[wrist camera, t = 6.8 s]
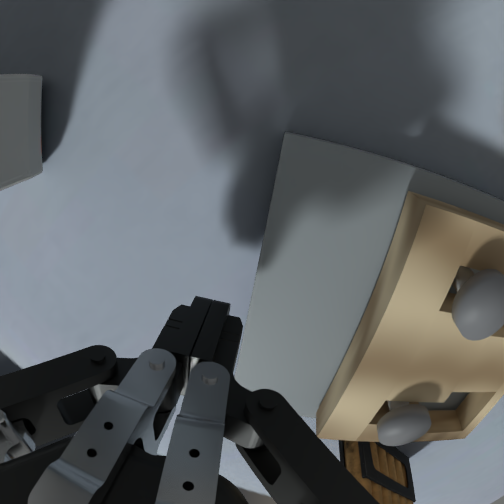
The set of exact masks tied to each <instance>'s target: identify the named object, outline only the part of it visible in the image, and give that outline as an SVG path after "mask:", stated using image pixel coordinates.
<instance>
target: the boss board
mask: <svg viewBox="0 0 504 504" xmlns="http://www.w3.org/2000/svg"><path fill="white" fill-rule="evenodd" d="M408 191H411V192H414V193H417V194H420V195H423V196H426V197H430V198H433V199H436V200H439V201H442V202H445V203H447V204H450V205H453V206H456V207H459V208H462V209H464V210H467V211H470V212H473V213H475V214H478V215H481V216H483V217H486V218H488V219H491V220H494V221H496V222H499V223H501V224H504V201H503V200H501V199H499V198H496V197H494V196H492V195H489V194H487V193H485V192H482V191H480V190H478V189H475V188H473V187H470V186H468V185H465V184H463V183H460V182H458V181H455V180H452V179H450V178H447V177H445V176H442V175H439V174H436V173H434V172H431V171H428V170H425V169H422V168H419V167H416V166H413V165H410V164H407V163H404V162H401V161H398V160H395V159H392V158H388V157H385V156H382V155H378V154H375V153H371V152H368V151H364V150H361V149H357V148H354V147H350V146H346V145H342V144H338V143H334V142H330V141H326V140H322V139H318V138H313V137H309V136H305V135H300V134H295V133H291V132H286V131H285V134H284V139H283V144H282V149H281V154H280V159H279V164H278V169H277V174H276V179H275V184H274V189H273V194H272V199H271V204H270V209H269V214H268V219H267V223H266V228H265V233H264V238H263V243H262V248H261V253H260V258H259V263H258V267H257V272H256V277H255V282H254V287H253V292H252V296H251V301H250V306H249V311H248V316H247V320H246V325H245V330H244V335H243V339H242V344H241V349H240V354H239V358H238V363H237V368H236V372H235V377H234V378H235V380H236V381H237V382H238V383H239V384H240V385H241V386H243V387H244V388H246V389H248V390H250V391H252V392H253V391H255V390H258V389H271V390H274V391H276V392H278V393H280V394H281V395H282V396H283V397H284V398H285V399H286V400H287V401H288V403H289V404H290V405H291V406H292V407H293V409H294V410H295V411H296V412H297V413H298V415H299V416H303V417H311V418H316V412H317V410H318V408H319V406H320V404H321V403H322V401H323V399H324V397H325V395H326V393H327V391H328V389H329V387H330V385H331V383H332V382H333V380H334V378H335V376H336V374H337V372H338V370H339V368H340V365H341V363H342V361H343V359H344V357H345V355H346V353H347V351H348V349H349V347H350V344H351V342H352V340H353V338H354V336H355V333H356V331H357V329H358V327H359V324H360V322H361V320H362V318H363V315H364V313H365V311H366V308H367V306H368V303H369V301H370V299H371V296H372V294H373V291H374V289H375V286H376V284H377V281H378V278H379V276H380V273H381V271H382V268H383V265H384V262H385V260H386V257H387V254H388V251H389V249H390V246H391V243H392V240H393V237H394V234H395V231H396V228H397V225H398V222H399V219H400V216H401V213H402V209H403V206H404V203H405V200H406V196H407V193H408ZM448 292H449V293H454V294H456V296H455V298H454V301H453V304H452V319H453V321H454V323H455V324H456V326H457V328H458V329H459V331H460V333H461V334H462V336H463V337H464V338H466V339H468V340H472V341H477V340H482V339H485V338H487V337H489V336H491V335H493V334H494V333H495V332H497V331H498V330H499V329H500V328H501V327H502V326H503V325H504V275H503V274H502V273H501V272H500V271H498V270H496V269H485V270H481V271H479V270H476V269H472V268H468V267H465V266H461V265H460V267H459V269H458V271H457V274H456V276H455V278H454V280H453V283H452V285H451V287H450V289H449V291H448ZM469 393H470V392H452V393H451V394H450V396H449V397H448V398H447V399H446V401H445V402H444V403H439V402H419V404H409V402H405V401H388V405H389V410H390V411H389V412H388V413H386V414H385V415H384V416H383V417H382V418H381V419H380V420H379V421H378V423H377V432H378V439H379V441H380V443H381V444H383V445H386V446H400V445H404V444H407V443H410V442H413V441H415V440H417V439H418V438H420V437H422V436H423V435H424V434H425V433H426V432H427V431H428V430H429V429H430V427H431V419H430V416H429V412H428V410H456V409H457V408H458V406H459V405H460V404H461V403H462V401H463V400H464V399H465V398H466V396H467V395H468V394H469Z"/></svg>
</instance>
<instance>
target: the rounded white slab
mask: <svg viewBox="0 0 504 504" xmlns="http://www.w3.org/2000/svg"><path fill="white" fill-rule="evenodd" d="M41 96H42V76H41V75H34V74H0V191H1V190H4V189H6V188H8V187H11V186H13V185H16V184H18V183H21V182H23V181H26V180H28V179H31V178H32V177H34V176H36V175H38V174H40V173H42V171H43V166H42V147H41Z"/></svg>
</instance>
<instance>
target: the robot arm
mask: <svg viewBox="0 0 504 504" xmlns="http://www.w3.org/2000/svg"><path fill="white" fill-rule="evenodd" d="M229 311H230V303H225V302H221V301H216V300H212V299H207V298H203V297H198V296H196V297H195V298H194V300H193V302H192V304H191V306H186V305H180V306H179V307H177V308H176V309H174V310H173V311H172V313H171V315H170V317H169V319H168V320H167V322H166V324H165V326H164V327H163V329H162V331H161V333H160V335H159V337H158V338H157V340H156V342H155V344H154V346H153V348H152V349H148V350H146V351H144V352H143V353H141V355H140V356H139V357H138V358H116V354H115V352H114V351H113V350H112V349H111V348H109V347H107V346H103V345H94V346H90V347H88V348H85V349H82V350H79V351H76V352H73V353H70V354H67V355H64V356H61V357H58V358H55V359H52V360H49V361H46V362H43V363H40V364H37V365H34V366H31V367H28V368H25V369H22V370H19V371H16V372H13V373H9V374H6V375H3V376H0V504H248V502H247V501H246V499H245V497H244V496H243V494H242V493H241V492H240V491H239V489H238V488H237V487H236V486H235V485H234V484H232V483H231V482H230V481H229V480H227V479H226V478H224V477H223V476H221V475H219V467H220V459H221V451H222V443H223V437H225V438H227V439H229V440H231V441H233V442H235V443H236V447H237V449H238V450H239V452H240V453H241V455H242V456H243V458H244V459H245V461H246V462H247V464H248V465H249V466H250V468H251V469H252V471H253V472H254V474H255V475H256V476H257V478H258V479H259V480H260V482H261V483H262V485H263V486H264V487H265V489H266V490H267V491H268V493H269V494H270V495H271V497H272V498H273V499H274V501H275V502H276V503H277V504H380V503H379V502H378V501H377V500H376V499H375V498H374V497H373V496H372V495H371V494H370V493H369V492H368V491H367V490H366V489H365V488H364V487H363V486H362V485H361V484H360V483H359V482H358V481H357V480H356V478H355V477H354V476H353V475H352V474H351V473H350V472H349V471H348V470H347V469H346V468H345V467H344V466H343V464H342V463H341V462H340V461H339V460H338V459H337V458H336V457H335V456H334V455H333V453H332V452H331V451H330V450H329V449H328V448H327V447H326V446H325V445H324V443H323V442H322V441H321V440H320V439H319V438H318V437H317V435H316V434H315V433H314V432H313V431H312V430H311V429H310V427H309V426H308V425H307V424H306V423H305V422H304V420H303V419H302V418H301V417H300V416H299V415H298V413H297V412H296V411H295V410H294V409H293V407H292V406H291V405H290V404H289V403H288V401H287V400H286V399H285V398H284V397H283V396H282V395H281V394H280V393H278V392H276V391H274V390H271V389H258V390H255V391H253V392H252V391H250V390H248V389H246V388H244V387H243V386H241V385H240V384H239V383H238V382H237V381H236V380H235V378H234V376H233V371H234V367H235V362H236V358H237V354H238V349H239V344H240V339H241V334H242V329H243V325H242V322H241V319H240V318H239V317H234V316H230V315H229ZM85 389H86V390H85ZM83 390H84V391H83ZM80 391H81V392H80ZM75 393H76V394H75ZM72 394H73V395H72ZM69 395H70V396H69ZM180 395H183V396H184V399H183V403H182V407H181V411H180V414H178V415H177V417H176V420H175V424H174V428H173V432H172V436H171V440H170V444H169V448H168V452H167V456H159V455H157V450H158V446H159V444H160V442H161V439H162V437H163V435H164V433H165V431H166V429H167V427H168V425H169V423H170V421H171V419H172V417H173V415H174V412H175V410H176V404H177V402H178V399H179V396H180ZM67 396H68V397H67ZM64 397H65V398H64ZM76 431H77V433H76V434H75V436H72V437H68V438H65V439H63V440H60V441H58V442H55V443H53V444H51V445H48V446H46V447H43V448H41V449H38V450H36V451H34V450H35V447H36V446H39V445H42V444H44V443H47V442H50V441H53V440H56V439H58V438H61V437H63V436H66V435H69V434H71V433H74V432H76Z"/></svg>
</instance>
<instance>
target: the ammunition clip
mask: <svg viewBox="0 0 504 504" xmlns="http://www.w3.org/2000/svg"><path fill="white" fill-rule="evenodd" d="M339 451H340V462H341V463H342V464H343V466H344V467H345V468H346V469H347V470H348V471H349V472H350V473H351V474H352V475H353V476H354V477H355V478H356V480H357V481H358V482H359V483H360V484H361V485H362V486H363V487H364V488H365V489H366V490H367V491H368V492H369V493H370V494H371V495H372V496H373V497H374V498H375V499H376V500H377V501H378V502H379V503H380V504H413V502H415V501H416V500H415V493H414V487H413V480H412V474H411V468H410V463H409V458H408V457H407V456H405V455H404V454H403V453H402V452H400V451H399V450H398V449H397V448H395V447H394V446H386V445H383V444H381V443H380V442H368V441H347V440H339Z"/></svg>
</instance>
